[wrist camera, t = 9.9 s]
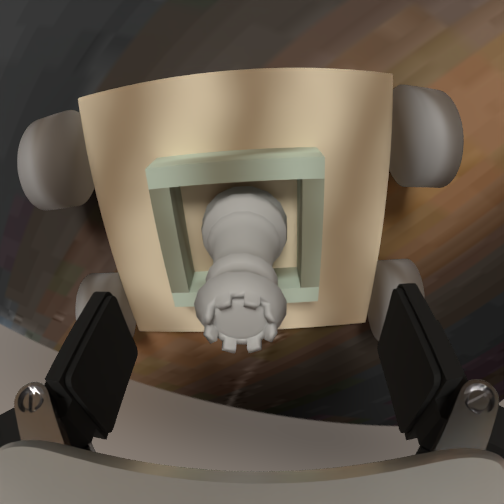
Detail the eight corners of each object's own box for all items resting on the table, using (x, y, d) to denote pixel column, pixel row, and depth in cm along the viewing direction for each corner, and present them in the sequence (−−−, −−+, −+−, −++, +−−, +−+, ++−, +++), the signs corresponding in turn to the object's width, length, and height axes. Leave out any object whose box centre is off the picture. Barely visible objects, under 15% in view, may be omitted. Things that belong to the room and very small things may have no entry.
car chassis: (416, 77, 14) (467, 84, 10) (386, 308, 22) (407, 359, 18) (60, 104, 15) (6, 120, 10) (120, 319, 23) (99, 369, 18)
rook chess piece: (258, 269, 19) (260, 383, 12) (189, 234, 18) (153, 341, 11) (303, 209, 17) (335, 310, 10) (229, 166, 16) (209, 247, 9)
